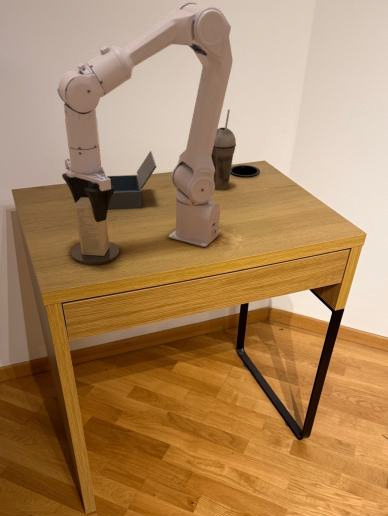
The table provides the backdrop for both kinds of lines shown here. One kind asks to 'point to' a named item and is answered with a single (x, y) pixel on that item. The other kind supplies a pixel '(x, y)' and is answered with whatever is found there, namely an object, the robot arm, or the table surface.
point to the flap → (146, 169)
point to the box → (90, 229)
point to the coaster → (95, 259)
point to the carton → (124, 192)
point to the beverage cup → (223, 155)
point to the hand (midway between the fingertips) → (91, 213)
